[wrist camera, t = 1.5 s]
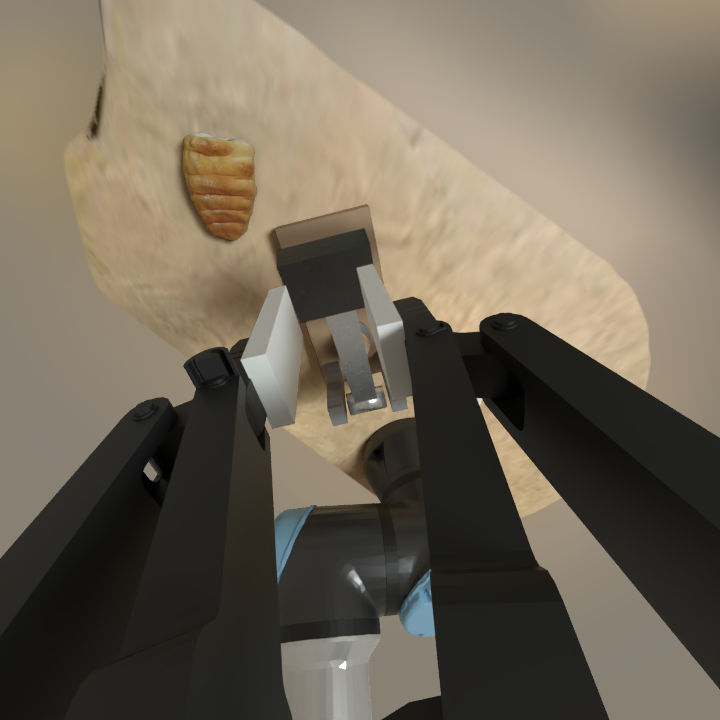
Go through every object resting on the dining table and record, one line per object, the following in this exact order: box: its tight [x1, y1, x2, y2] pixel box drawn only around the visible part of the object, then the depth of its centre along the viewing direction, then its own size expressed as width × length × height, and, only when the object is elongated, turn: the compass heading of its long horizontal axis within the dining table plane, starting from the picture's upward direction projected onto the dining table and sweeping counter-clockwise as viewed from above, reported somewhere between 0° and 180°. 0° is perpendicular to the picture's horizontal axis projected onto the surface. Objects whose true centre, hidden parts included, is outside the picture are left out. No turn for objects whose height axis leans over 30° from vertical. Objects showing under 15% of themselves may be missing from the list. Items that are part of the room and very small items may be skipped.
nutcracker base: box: [275, 204, 408, 426], centre depth 37 cm, size 20×10×12 cm, turn 12°
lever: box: [277, 228, 387, 416], centre depth 30 cm, size 21×6×3 cm, turn 10°
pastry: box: [183, 133, 257, 240], centre depth 33 cm, size 9×7×4 cm
